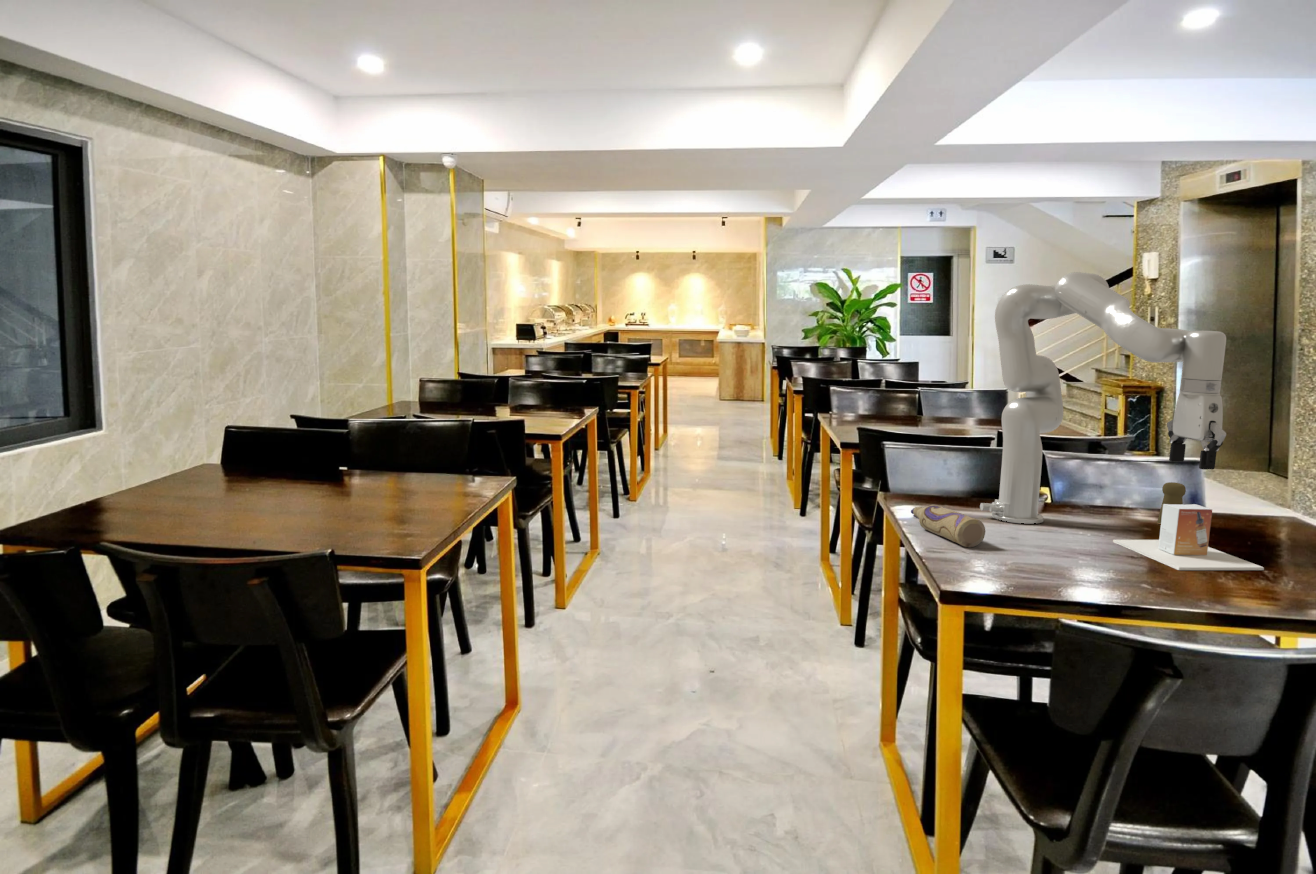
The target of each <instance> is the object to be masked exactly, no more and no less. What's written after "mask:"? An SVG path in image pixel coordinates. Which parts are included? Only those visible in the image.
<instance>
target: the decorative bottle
mask: <svg viewBox="0 0 1316 874" xmlns="http://www.w3.org/2000/svg"><path fill="white" fill-rule="evenodd" d="M910 513H911V514H912V516H913V518H916V519H918V523H919V524H920V526H921V528H923V529H924V530H926V531H928V532H931V533H933V534H935V535H937V536H940V537H942V538H944V539H947V540H950V541H951V542H954V543H955V544H957V545H958V544H959V545H960V546H962V547H964V548H973V547H976V546H978V545H979V544H981V543H982V542H983V541H984V538H985V535H986V526H985V524H984V523H983V522H982V521H981V520H980V519H979V518H974V517H971V516H968V515H966V514H963V513H962V512H958V511H955V510H954V509H953V510H952V509H949V508H946V507H945V506H941V505H940V504H939V505H938V504H931V505H927V506H925V507H922V506H914V507H913V508H912V509H911V510H910Z"/></svg>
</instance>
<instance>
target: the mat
mask: <svg viewBox="0 0 1316 874" xmlns="http://www.w3.org/2000/svg"><path fill="white" fill-rule="evenodd" d="M1112 542H1113V543H1114V544H1116V545H1118V546H1120V547H1123V548H1126V549H1129V550H1130V551H1133V552H1135V553H1137V554H1140V555H1141V556H1145V557H1147V558H1149V559H1152V560H1154V561H1156V562H1158V563H1161V564H1164V565H1165V566H1168V567H1170V568H1172V569H1174V570H1177V571H1264V570H1265V567H1263V566H1261V565H1259V564H1255V563H1253V562H1250V561H1248V560H1246V559H1245V560H1244V559H1243V558H1239V557H1238V556H1234V555H1232V554H1229V553H1226V552H1224V551H1221V550H1218V549H1216V548H1212V547H1210V546H1208V550H1207V555H1206V556H1202V555H1173V554H1171V553H1168V552H1166V551H1163V550H1160V549H1158V545H1159V539H1113V540H1112Z"/></svg>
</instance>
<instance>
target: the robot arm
mask: <svg viewBox="0 0 1316 874" xmlns="http://www.w3.org/2000/svg"><path fill="white" fill-rule="evenodd" d="M1130 304H1131V303H1130V301H1129V299H1128V298H1127V297H1125V296H1124V295H1121V294H1120V293H1118V292H1116V291H1115V290H1113V289H1112V288H1111V287H1110V286H1109V284H1108V281H1107V280H1106V279H1105V278H1104V277H1103V276H1101V275H1099V274H1095V273H1089V272H1088V273H1087V272H1080V271H1079V272H1078V271H1076V272H1075V271H1074V272H1070V273H1066V274H1064V275H1063V276H1061V277H1060V278H1059V279H1058V281H1057V282H1056V284H1053V285H1041V284H1040V285H1039V284H1030V283H1029V284H1020V285H1017V286H1014V287H1012V288H1010V289H1008V290H1007V291H1006V292H1004V293H1003V295H1002V296H1001V297H1000V299H999V300H998V302H997V304H996V307H995V311H994V323H995V328H996V334H997V335H996V336H997V340H998V346H999V347H998V348H999V349H998V350H999V351H998V352H999V357H1000V360H999V361H1000V366H1001V377H1002V381H1003V384H1004V386H1005V388H1006V389H1008V390H1009V391H1011V392H1015V393H1025V397H1018V398H1015V399H1012V400H1011V401H1009V402H1008V403H1007V404H1006V405H1005V407H1004V408H1003V410H1002V413H1001V431H1002V452H1001V453H1002V455H1001V469H1000V479H999V483H1000V484H999V493H998V494H999V496H998V499H995V498H994V501H992V502H991V503H988V502H986V503H985V502H980V505H979V509H980V511H987V512H988V511H989V512H991V515H992V516H991V517H992V518H993V519H995V520H998V519H999V521H1001V520H1002V522H1006V521H1007V523H1014V524H1021V523H1024V524H1023V525H1025V524H1027V525H1030V524H1031V525H1034V523H1036V524H1040V523H1043V522H1045V521H1044V520H1045V517H1044V516H1043V515H1042V514H1040V513H1039V501H1040V489H1041V487H1040V486H1041V476H1042V465H1043V444H1042V439H1041V434H1045V433H1051V432H1053V431H1055V430H1056V429H1058V428H1059V427H1060V425H1061V424H1062V422H1063V419H1064V418H1063V417H1064V404H1063V403H1064V402H1063V396H1062V388H1061V379H1060V373H1059V370H1058V367H1057V365H1056V364H1055V362H1054V361H1053V360H1052V359H1051V358H1049V357H1047V356H1044V355H1038V354H1037V351H1036V346H1035V336H1034V334H1033V330H1032V328H1031V327H1030V325H1029V320H1030V319H1034V320H1050V319H1051V320H1053V319H1057V318H1060V317H1061V318H1062V317H1064V316H1065V317H1066V316H1070V315H1073V314H1077V315H1079V316H1081V317H1082V318H1084V319H1086V320H1087V321H1089V322H1090V323H1092V324H1093V325H1095V326H1097V327H1099V328H1100V329H1101V330H1103V331H1104V333H1105V335H1107V336H1108V337H1109V338H1110V340H1112V342H1114V343H1115V344H1116V345H1118V346H1120V347H1121V348H1123V349H1124V350H1126V352H1129V353H1130V354H1133V355H1134V356H1135V357H1137V358H1139V359H1141V360H1143V361H1146V362H1150V363H1179V362H1180V363H1181V362H1182V368H1181V378H1180V387H1179V393H1178V395H1177V401H1176V403H1175V410H1174V413H1173V419H1171V420H1170V421H1168V422H1167V423H1166V426H1167V427H1166V428H1167V431H1168V432H1167V435H1168V437H1169V441H1168V442H1169V443H1170V449H1169V456H1168V457H1169V462H1175V463H1177V462H1179V463H1180V462H1181V463H1182V462H1184V461H1185V455H1186V446H1187V444H1186V443H1185V442H1186V441H1187V439H1188V440H1192V441H1193V440H1194V441H1199V442H1200V445H1201V447H1202V449H1203V450H1200V456H1199V463H1198V468H1199V469H1200V470H1214V469H1215V467H1216V459H1217V452H1219V450H1220V447H1221V446H1222V445H1223V444H1224V443H1223V442H1224V441H1225V438H1226V436H1227V432H1226V431H1225V430H1224V429H1223V421H1224V419H1223V418H1224V417H1223V416H1224V415H1223V414H1224V410H1223V409H1224V408H1223V407H1224V406H1223V398H1222V395H1221V388H1222V379H1223V378H1222V377H1223V371H1224V364H1225V363H1224V361H1225V354H1226V347H1227V345H1226V344H1227V336H1226V334H1225V333H1224V332H1222V331H1218V330H1186V329H1180V328H1170V327H1169V328H1166V327H1162V328H1161V327H1158V326H1155V325H1153V324H1152V323H1151V322H1148V321H1147V320H1145V319H1143V318H1141V317H1140V316H1138V315H1137V314H1135V313H1134V312H1133V311H1132V310H1131V308H1130Z"/></svg>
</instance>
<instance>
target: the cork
mask: <svg viewBox="0 0 1316 874" xmlns="http://www.w3.org/2000/svg"><path fill="white" fill-rule="evenodd" d="M1186 490H1187V489H1186V486H1185V484H1183V483H1179V482H1172V481H1171V482H1165V483H1164V484H1163V485H1162V493H1163V497H1162V498H1163V499H1162V502H1161V506H1160V510H1159V514H1158V518H1157V521H1156V524H1157V523H1160V524H1161V519H1162V510H1163V504H1183V505H1184V502H1183V499H1184V498H1183V497H1184V496H1185V495H1186V492H1187V491H1186Z"/></svg>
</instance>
